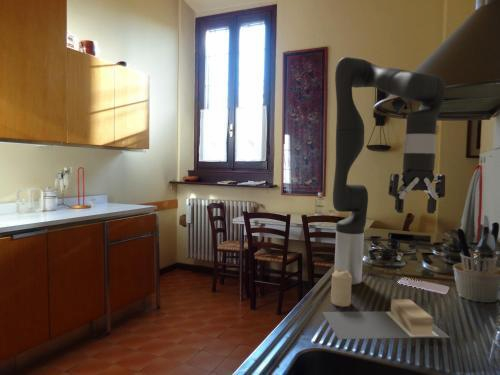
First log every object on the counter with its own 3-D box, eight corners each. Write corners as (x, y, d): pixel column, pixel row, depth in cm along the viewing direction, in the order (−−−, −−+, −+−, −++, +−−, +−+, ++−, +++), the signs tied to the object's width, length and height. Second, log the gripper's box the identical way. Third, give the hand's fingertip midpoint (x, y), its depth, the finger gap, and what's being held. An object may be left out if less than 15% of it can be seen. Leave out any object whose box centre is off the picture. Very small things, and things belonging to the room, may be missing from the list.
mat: (322, 313, 95) (322, 311, 95) (418, 312, 97) (418, 310, 97) (338, 340, 81) (338, 338, 81) (450, 339, 83) (450, 337, 83)
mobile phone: (446, 292, 110) (396, 281, 119) (446, 295, 110) (396, 284, 119) (449, 285, 117) (401, 275, 125) (449, 288, 117) (401, 278, 125)
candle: (327, 303, 101) (328, 270, 101) (337, 298, 105) (338, 266, 104) (344, 309, 98) (345, 275, 97) (353, 304, 101) (355, 270, 101)
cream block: (432, 333, 84) (433, 317, 84) (411, 334, 84) (412, 318, 83) (408, 313, 95) (409, 299, 95) (390, 313, 95) (391, 299, 94)
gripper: (400, 151, 88) (396, 215, 89) (454, 152, 89) (449, 215, 90) (386, 151, 95) (383, 210, 97) (436, 152, 96) (432, 211, 98)
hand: (415, 212), depth 93 cm, fingers open, 8 cm apart
